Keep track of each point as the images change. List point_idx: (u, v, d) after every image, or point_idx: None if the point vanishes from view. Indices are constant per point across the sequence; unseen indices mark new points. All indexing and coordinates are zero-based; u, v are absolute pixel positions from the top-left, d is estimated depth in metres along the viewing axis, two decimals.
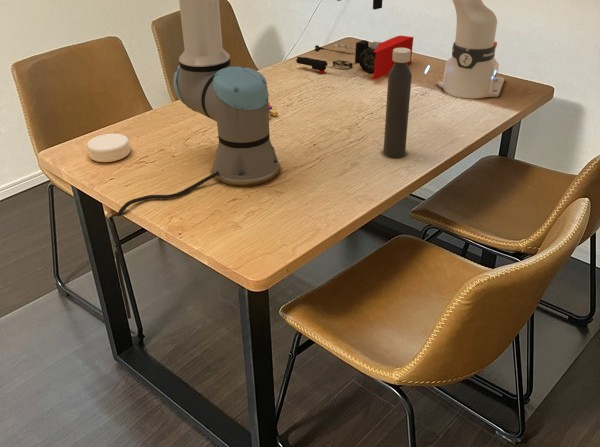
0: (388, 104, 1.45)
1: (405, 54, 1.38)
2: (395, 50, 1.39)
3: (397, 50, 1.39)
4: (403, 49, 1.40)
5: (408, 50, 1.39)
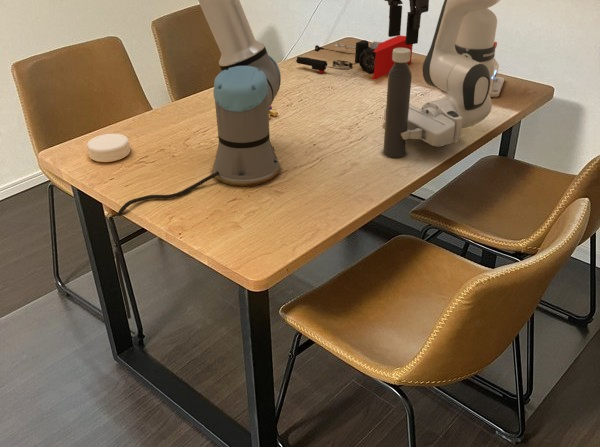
0: (388, 104, 1.45)
1: (405, 54, 1.38)
2: (395, 50, 1.39)
3: (396, 50, 1.39)
4: (403, 49, 1.40)
5: (408, 50, 1.39)
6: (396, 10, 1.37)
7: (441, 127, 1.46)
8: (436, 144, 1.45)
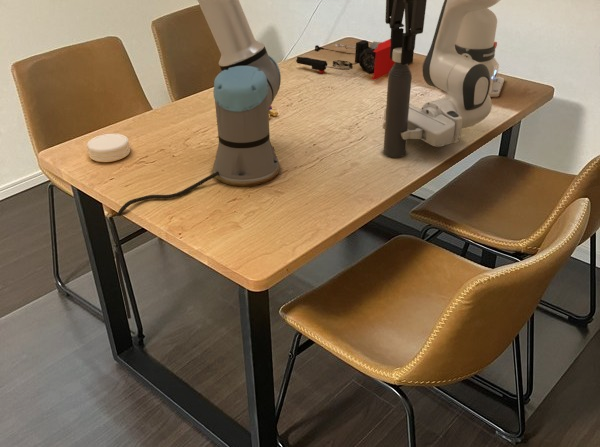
0: (388, 104, 1.45)
1: None
2: (395, 50, 1.39)
3: (396, 50, 1.39)
4: None
5: None
6: (397, 33, 1.39)
7: (441, 127, 1.46)
8: (436, 144, 1.45)
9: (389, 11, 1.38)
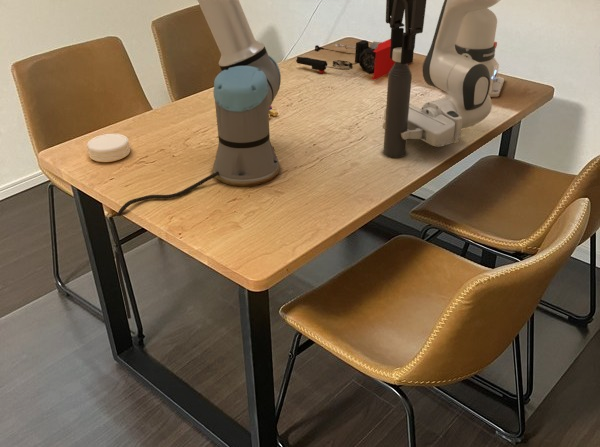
0: (388, 104, 1.45)
1: None
2: None
3: None
4: (399, 49, 1.39)
5: (400, 47, 1.40)
6: (398, 32, 1.39)
7: (441, 127, 1.46)
8: (436, 144, 1.45)
9: (389, 11, 1.38)
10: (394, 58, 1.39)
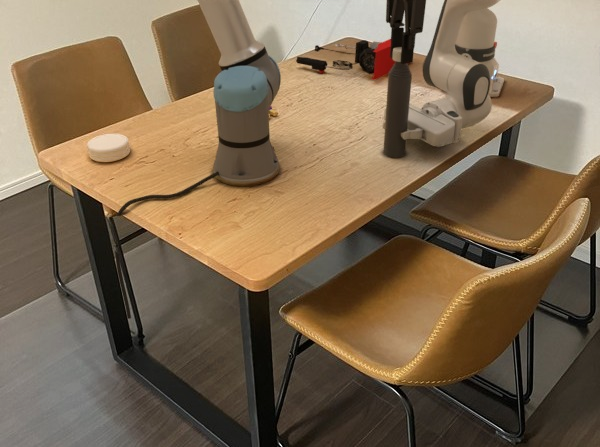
0: (388, 104, 1.45)
1: None
2: None
3: None
4: None
5: (396, 50, 1.39)
6: (398, 32, 1.39)
7: (441, 127, 1.46)
8: (436, 144, 1.45)
9: (389, 10, 1.38)
10: None
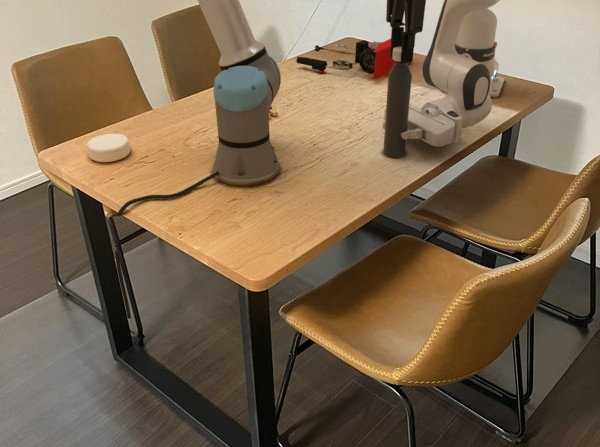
0: (388, 104, 1.45)
1: (399, 53, 1.38)
2: (396, 47, 1.40)
3: (398, 47, 1.40)
4: None
5: None
6: (398, 32, 1.39)
7: (441, 127, 1.46)
8: (436, 144, 1.45)
9: (390, 10, 1.38)
10: None
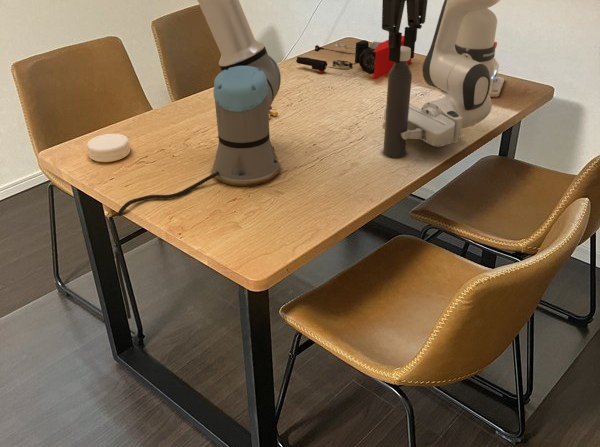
0: (388, 104, 1.45)
1: (410, 51, 1.39)
2: None
3: None
4: None
5: (405, 47, 1.40)
6: None
7: (441, 127, 1.46)
8: (436, 144, 1.45)
9: None
10: None
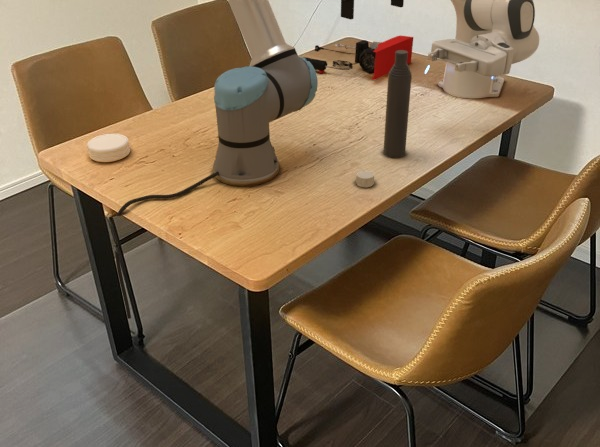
0: (388, 104, 1.45)
1: (373, 176, 1.39)
2: (363, 177, 1.38)
3: (363, 176, 1.38)
4: (363, 173, 1.39)
5: (368, 171, 1.40)
6: None
7: (493, 57, 1.45)
8: (488, 74, 1.43)
9: None
10: None
